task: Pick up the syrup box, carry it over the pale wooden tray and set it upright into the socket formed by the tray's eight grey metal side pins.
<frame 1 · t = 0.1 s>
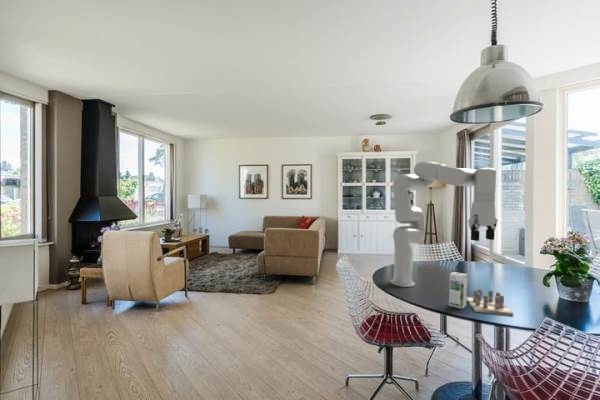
hand: (482, 239, 125), 31 cm above the table, tool pointing down, fingers open, 9 cm apart
syrup box: (457, 306, 135), on the table
pin tray: (487, 306, 135), on the table
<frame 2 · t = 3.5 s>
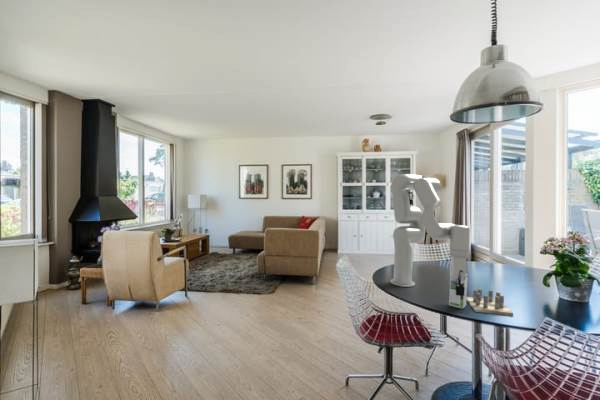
hand: (457, 292, 135), 6 cm above the table, tool pointing down, fingers closed on syrup box, 7 cm apart
syrup box: (457, 306, 135), on the table, touching gripper
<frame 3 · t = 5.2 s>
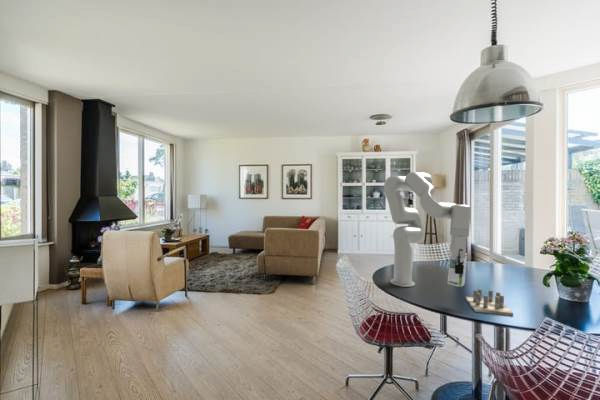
hand: (456, 270, 136), 15 cm above the table, tool pointing down, fingers closed on syrup box, 7 cm apart
syrup box: (456, 284, 136), point 9 cm above the table, touching gripper
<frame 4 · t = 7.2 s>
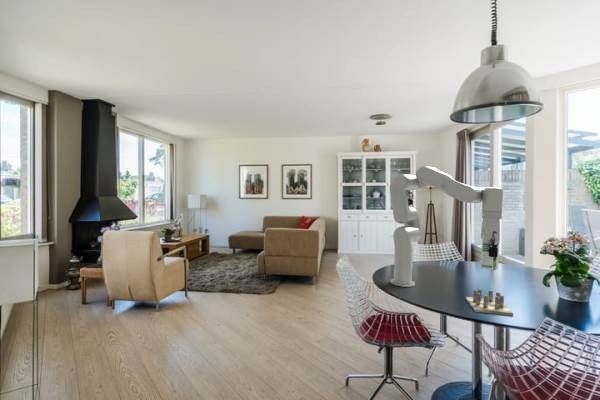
hand: (489, 254, 134), 23 cm above the table, tool pointing down, fingers closed on syrup box, 7 cm apart
syrup box: (489, 268, 134), point 17 cm above the table, touching gripper
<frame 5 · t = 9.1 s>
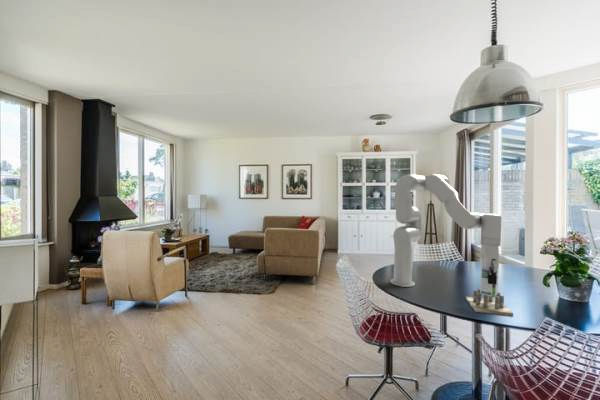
hand: (489, 281, 134), 12 cm above the table, tool pointing down, fingers closed on syrup box, 7 cm apart
syrup box: (488, 295, 134), point 5 cm above the table, touching gripper
when the fingers open (8 cm above the table, at t = 10.8 s): syrup box drops 1 cm, resting on pin tray.
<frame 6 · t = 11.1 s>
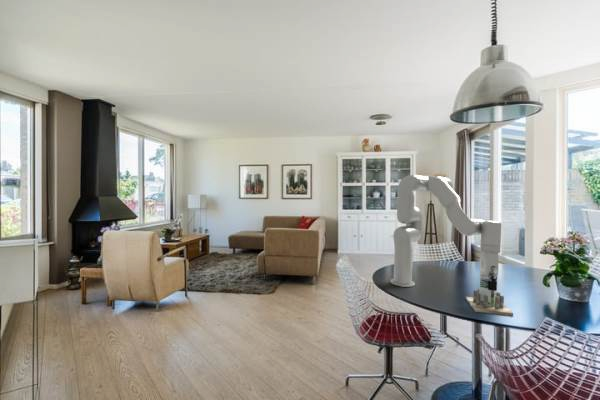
hand: (488, 286, 134), 9 cm above the table, tool pointing down, fingers open, 9 cm apart
syrup box: (487, 304, 135), point 1 cm above the table, touching pin tray
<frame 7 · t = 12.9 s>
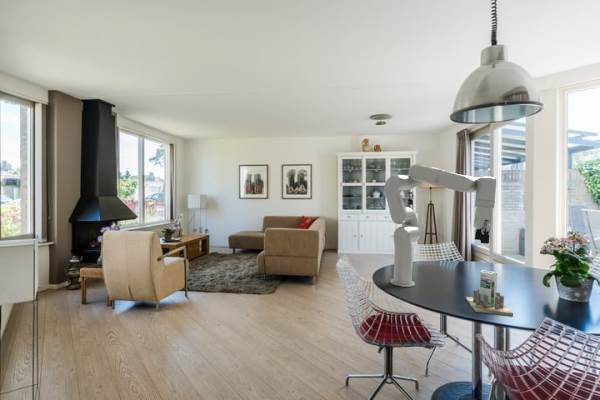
hand: (481, 241, 138), 28 cm above the table, tool pointing down, fingers open, 9 cm apart
nothing on the table moved.
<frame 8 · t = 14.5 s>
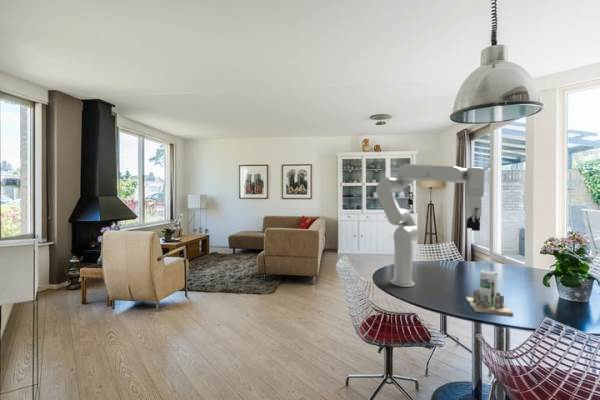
hand: (472, 229, 144), 33 cm above the table, tool pointing down, fingers open, 9 cm apart
nothing on the table moved.
at the end: syrup box 0.4 cm off-centre on the pin tray, point 1.0 cm above the pin tray's base; syrup box tilted 0°; the gripper is holding nothing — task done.
